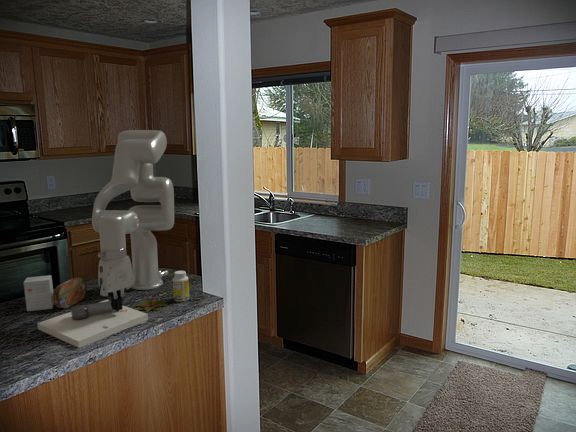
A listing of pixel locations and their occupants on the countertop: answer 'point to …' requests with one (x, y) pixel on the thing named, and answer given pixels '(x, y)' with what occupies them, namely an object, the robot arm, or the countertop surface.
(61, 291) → the tin
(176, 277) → the supplement bottle
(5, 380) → the countertop surface
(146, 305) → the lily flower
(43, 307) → the small box
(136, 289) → the robot arm
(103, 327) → the base
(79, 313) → the grey knobbed bar
